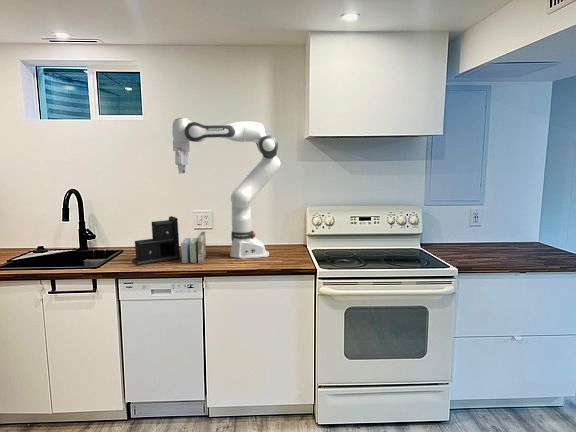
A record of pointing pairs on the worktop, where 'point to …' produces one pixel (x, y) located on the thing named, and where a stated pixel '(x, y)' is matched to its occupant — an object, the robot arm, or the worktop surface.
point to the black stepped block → (159, 243)
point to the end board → (201, 247)
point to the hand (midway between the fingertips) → (182, 173)
